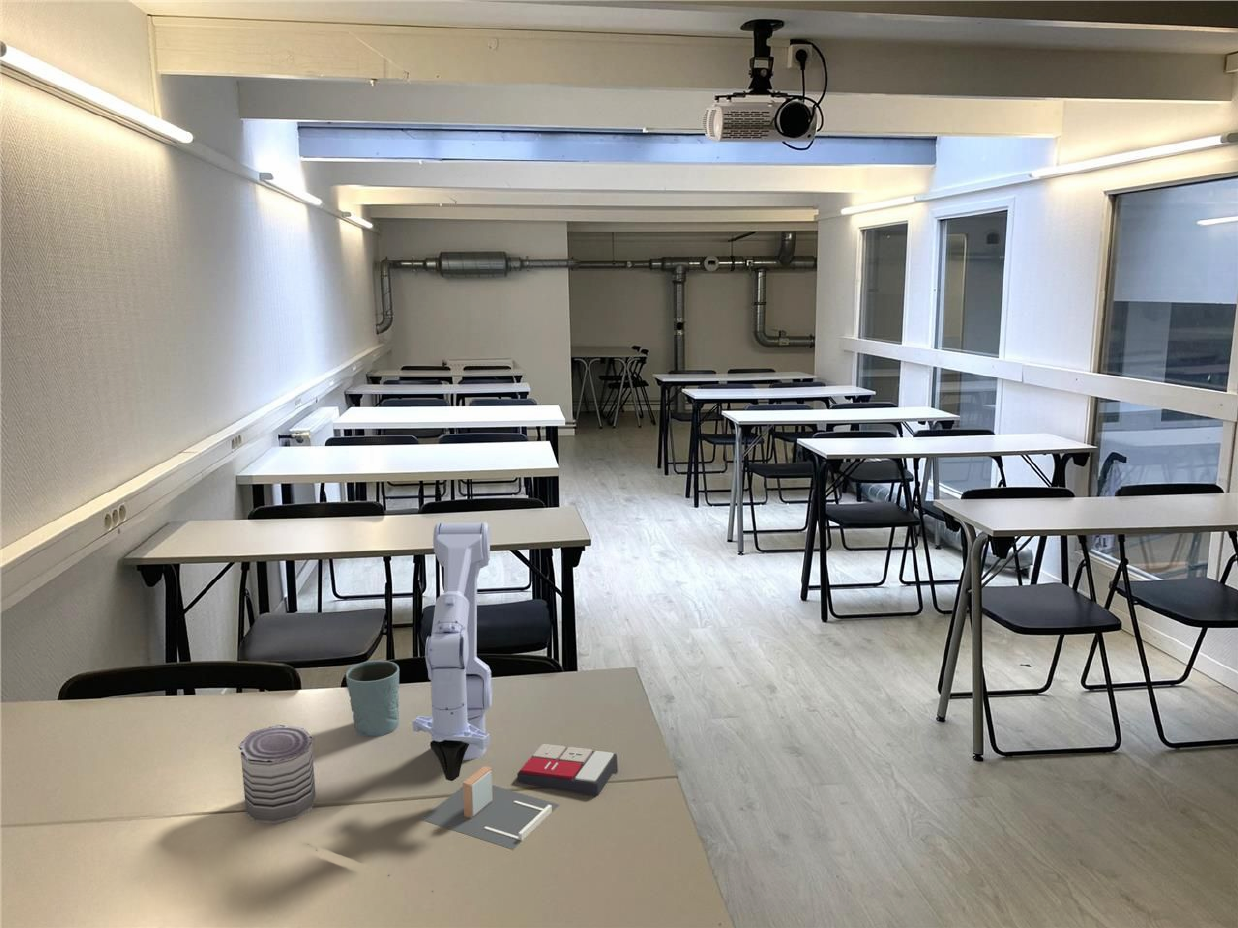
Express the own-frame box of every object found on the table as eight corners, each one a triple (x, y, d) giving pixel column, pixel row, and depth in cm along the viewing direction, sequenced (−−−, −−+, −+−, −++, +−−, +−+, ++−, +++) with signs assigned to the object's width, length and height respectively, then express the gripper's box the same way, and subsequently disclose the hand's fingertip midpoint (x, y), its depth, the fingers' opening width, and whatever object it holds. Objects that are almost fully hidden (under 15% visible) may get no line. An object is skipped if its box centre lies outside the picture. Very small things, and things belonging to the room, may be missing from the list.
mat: (420, 824, 152) (420, 812, 152) (472, 784, 164) (471, 772, 164) (513, 855, 144) (512, 842, 144) (559, 809, 156) (559, 797, 156)
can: (298, 779, 166) (293, 717, 164) (328, 804, 158) (324, 739, 156) (234, 804, 158) (228, 739, 156) (263, 832, 150) (257, 764, 148)
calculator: (541, 740, 173) (617, 749, 168) (542, 762, 174) (618, 771, 169) (515, 769, 163) (596, 779, 158) (517, 792, 164) (597, 803, 159)
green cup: (412, 723, 187) (409, 667, 185) (374, 743, 179) (371, 685, 176) (377, 710, 193) (373, 656, 190) (338, 730, 184) (334, 673, 182)
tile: (464, 815, 153) (462, 782, 152) (485, 798, 158) (484, 765, 157) (472, 818, 152) (471, 784, 151) (493, 800, 157) (492, 767, 156)
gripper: (399, 702, 154) (403, 778, 156) (470, 721, 147) (473, 799, 150) (426, 686, 160) (429, 759, 162) (496, 703, 153) (498, 779, 156)
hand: (452, 777), depth 157 cm, fingers closed
